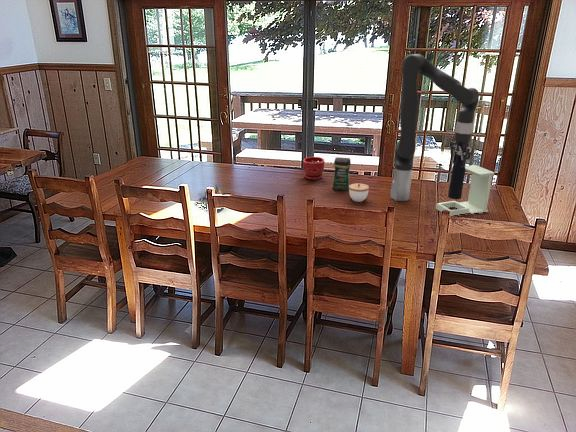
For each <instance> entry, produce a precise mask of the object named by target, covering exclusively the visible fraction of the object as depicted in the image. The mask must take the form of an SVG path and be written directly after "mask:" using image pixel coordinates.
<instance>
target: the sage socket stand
mask: <svg viewBox="0 0 576 432" xmlns="http://www.w3.org/2000/svg"><path fill="white" fill-rule="evenodd" d="M465 172H467V173H469V174H471V179H470V185H469V192H468V197H467V198H468V199H467V201H460V202H458V201H456V200H451V201H450V200H449V201H445V202H444V201H443V202H438V203H436V205H435V209H436V210H437V211H439V212H440V213H442V211H443V210H448V211H450V216H452V217H454V216H453V215H458V216H460V215H459V214H465V213H471V214H473V215H475V214H474V213H479V214H484V213H483V212H486V213H488V212H489V210H488V208H487V207H488V203H489V198H490V192H491V187H492V180H493V177H494V175H495V172H494V171H491V170H489V169H486V168H484V167H482V166H479V165H477V164H471V165H465ZM450 207H451V208H454V207H455V208H454V209H450ZM456 208H457V209H456ZM471 214H470V215H471ZM465 215H466V214H465Z"/></svg>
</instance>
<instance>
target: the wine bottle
mask: <svg viewBox="0 0 576 432" xmlns="http://www.w3.org/2000/svg"><path fill="white" fill-rule="evenodd" d="M458 146H462V143H460V142H458ZM464 153H465V152H464ZM460 163H461V155H460V151H458V154H457V156H456V161H455V162H454V164H453V163H452V167H451V172H450V179H449V187H448V193H447V194H448V195H447V197H448V198H449V199H451V200H461V199H462V194H463V189H464V183H465V176H466V175H465V174H466V171H465V167H462V168H461V167H460Z"/></svg>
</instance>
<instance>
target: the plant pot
mask: <svg viewBox="0 0 576 432" xmlns="http://www.w3.org/2000/svg"><path fill="white" fill-rule="evenodd" d="M302 164H303V171H304V177H305V178H306V179H307V180H314V181H316V180H320V179H322V178H323V176H324V174H323V172H324V170H325V159H324V158H323V157H320V156H309V157H305V158H304V159H303V160H302Z"/></svg>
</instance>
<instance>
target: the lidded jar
mask: <svg viewBox="0 0 576 432" xmlns="http://www.w3.org/2000/svg"><path fill="white" fill-rule="evenodd" d="M369 189H370V187H369V185H368V184H364V183H360V182H359V183H357V182H355V183H352V184H349V189H348V194H349V197H350V198H351V199H352V201H353V202H356V203H357V202H360V203H361V202H363V201H364V200H366V198H367V197H368V195H369Z"/></svg>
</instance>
